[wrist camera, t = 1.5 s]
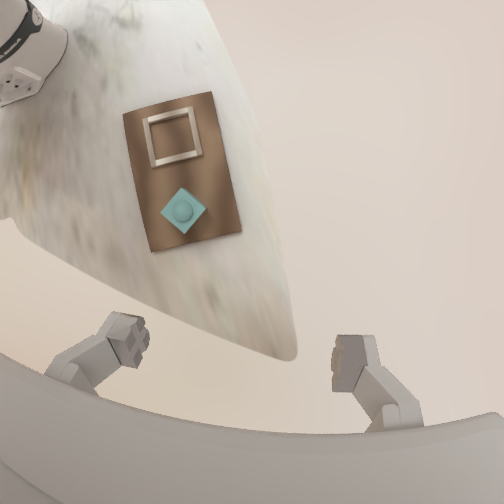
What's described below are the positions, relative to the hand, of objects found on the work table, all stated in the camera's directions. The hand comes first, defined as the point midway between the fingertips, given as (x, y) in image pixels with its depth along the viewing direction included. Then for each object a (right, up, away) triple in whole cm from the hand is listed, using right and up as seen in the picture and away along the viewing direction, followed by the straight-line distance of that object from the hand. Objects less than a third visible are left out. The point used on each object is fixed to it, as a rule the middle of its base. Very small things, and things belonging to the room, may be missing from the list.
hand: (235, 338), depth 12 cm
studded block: (-9, +10, +31) cm, 33 cm away
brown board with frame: (-10, +16, +31) cm, 36 cm away
